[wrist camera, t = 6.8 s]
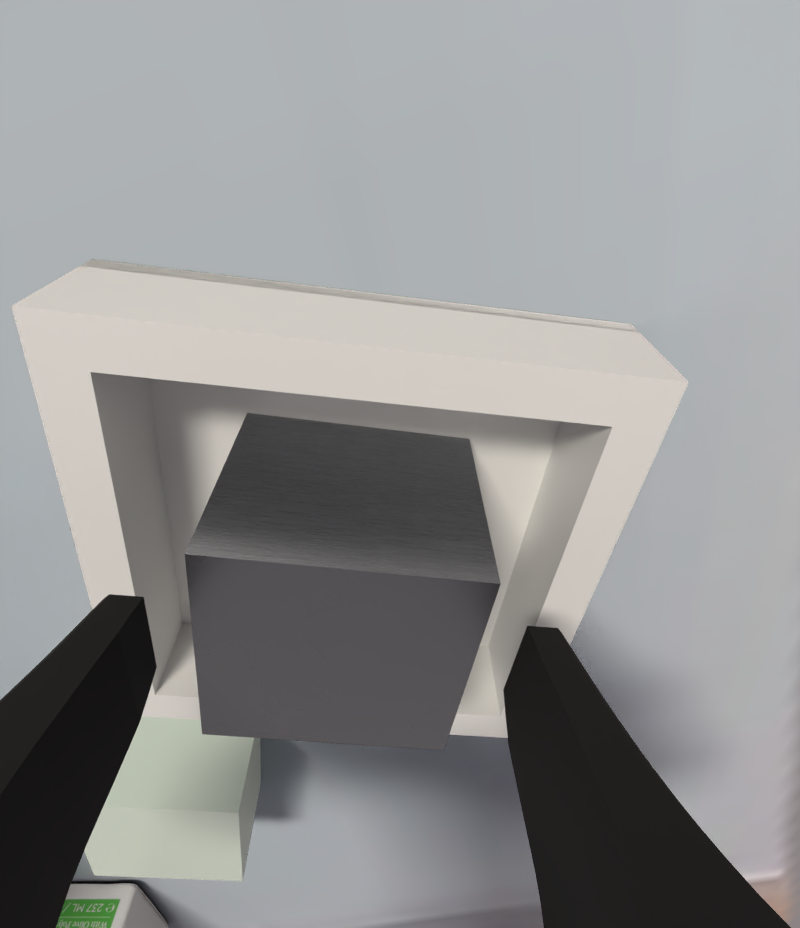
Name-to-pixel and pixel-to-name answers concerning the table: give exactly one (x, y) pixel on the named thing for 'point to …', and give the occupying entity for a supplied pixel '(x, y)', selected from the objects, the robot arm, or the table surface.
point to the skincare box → (109, 907)
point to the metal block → (339, 584)
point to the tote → (345, 402)
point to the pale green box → (179, 805)
